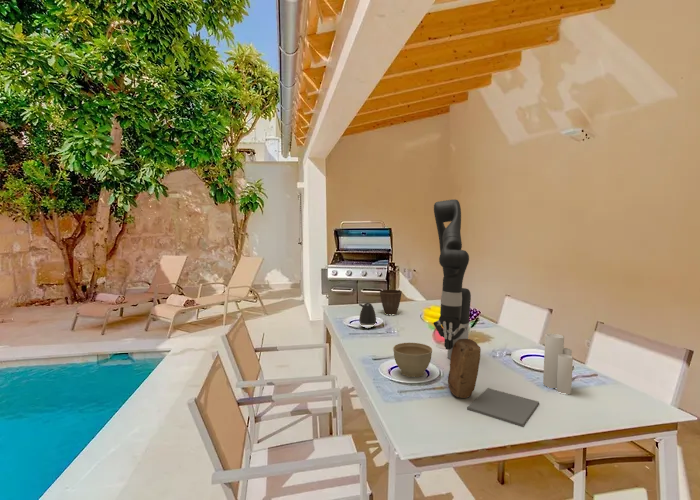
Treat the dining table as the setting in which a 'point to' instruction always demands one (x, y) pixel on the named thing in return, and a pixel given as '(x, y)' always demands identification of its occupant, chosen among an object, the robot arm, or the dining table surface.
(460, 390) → the block
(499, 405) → the flat gray panel
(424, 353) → the planter bowl
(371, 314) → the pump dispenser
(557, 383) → the vase
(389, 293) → the plant pot
